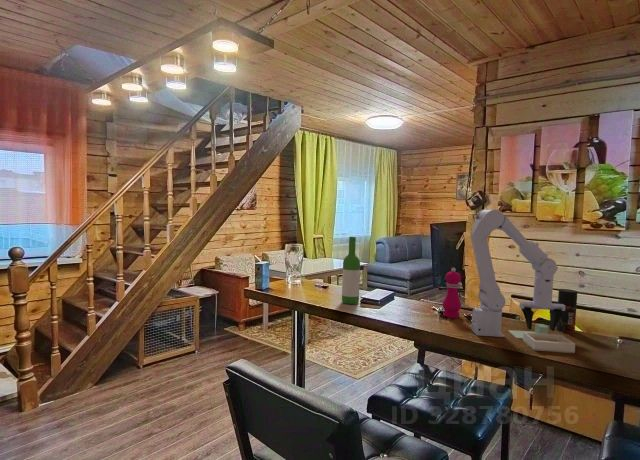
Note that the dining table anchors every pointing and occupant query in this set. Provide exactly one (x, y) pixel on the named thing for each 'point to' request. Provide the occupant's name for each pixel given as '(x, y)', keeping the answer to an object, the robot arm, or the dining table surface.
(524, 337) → the tub
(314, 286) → the dining table surface
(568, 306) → the deodorant
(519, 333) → the lid
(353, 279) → the wine bottle
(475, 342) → the dining table surface
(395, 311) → the dining table surface
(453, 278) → the pepper mill
